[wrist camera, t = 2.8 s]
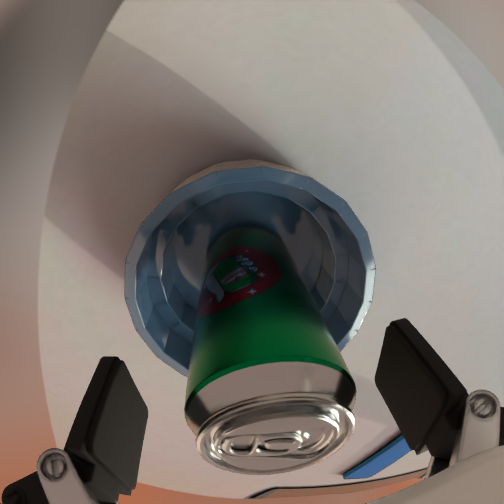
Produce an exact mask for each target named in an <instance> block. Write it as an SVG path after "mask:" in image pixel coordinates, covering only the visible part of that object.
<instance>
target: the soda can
mask: <svg viewBox="0 0 504 504" xmlns="http://www.w3.org/2000/svg"><path fill="white" fill-rule="evenodd" d="M355 400H356V386H355V383H354V380H353V378H352V376H351V374H350V372H349V370H348V368H347V366H346V364H345V362H344V359H343V357H342V355H341V353H340V351H339V349H338V347H337V345H336V343H335V341H334V339H333V337H332V335H331V333H330V331H329V329H328V327H327V325H326V323H325V321H324V319H323V317H322V315H321V313H320V311H319V309H318V307H317V305H316V303H315V301H314V299H313V297H312V295H311V293H310V291H309V289H308V287H307V285H306V283H305V282H304V280H303V278H302V276H301V274H300V272H299V270H298V268H297V266H296V264H295V262H294V260H293V259H292V257H291V255H290V253H289V251H288V249H287V247H286V245H285V244H284V243H283V241H282V240H281V239H280V238H279V237H278V236H277V235H276V234H274V233H272V232H271V231H269V230H266V229H264V228H261V227H256V226H242V227H237V228H234V229H231V230H228V231H227V232H225V233H223V234H222V235H220V236H219V237H218V238H217V239H216V240H215V241H214V242H213V243H212V245H211V246H210V248H209V249H208V252H207V254H206V258H205V262H204V268H203V274H202V280H201V286H200V293H199V299H198V306H197V313H196V320H195V327H194V334H193V341H192V349H191V356H190V364H189V372H188V381H187V389H186V399H185V408H184V412H185V419H186V422H187V424H188V426H189V427H190V429H191V430H192V432H193V433H194V434H195V436H196V447H197V449H198V452H199V454H200V455H201V456H202V458H203V459H205V460H206V461H207V462H208V463H210V464H212V465H214V466H215V467H218V468H220V469H223V470H226V471H230V472H234V473H240V474H248V475H270V474H279V473H285V472H290V471H294V470H298V469H302V468H305V467H307V466H310V465H313V464H315V463H317V462H320V461H322V460H323V459H325V458H327V457H329V456H331V455H332V454H334V453H335V452H336V451H338V450H339V449H340V448H341V447H343V446H344V445H345V443H346V442H347V441H348V440H349V439H350V437H351V436H352V434H353V432H354V429H355V417H354V414H353V412H352V410H353V407H354V403H355Z"/></svg>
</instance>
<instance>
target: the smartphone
mask: <svg viewBox="0 0 504 504" xmlns="http://www.w3.org/2000/svg"><path fill="white" fill-rule="evenodd" d="M410 451H411V449H410V448H409V446H408V444H407V442H406V440H405V438H404V436H403V435H401V436H400V437H399V438H397V439H396V440H395V441H393V442H392V443H391V444H389V445H388V446H386V447H385V448H384V449H382V450H381V451H379V452H378V453H376V454H375V455H373V456H372V457H370V458H369V459H367V460H366V461H364V462H363V463H361V464H360V465H358V466H356V467H355V468H353V469H352V470H350V471H348V472H347V473H345V474H343V478H344V479H361V478H369V477H371V476H373V475H375V474H376V473H378V472H380V471H381V470H383V469H385V468H386V467H388V466H389V465H391V464H392V463H394V462H395V461H397V460H398V459H400V458H401V457H403V456H404V455H405V454H407V453H408V452H410Z"/></svg>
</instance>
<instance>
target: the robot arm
mask: <svg viewBox="0 0 504 504" xmlns="http://www.w3.org/2000/svg"><path fill="white" fill-rule="evenodd" d="M375 384H376V386H377V388H378V390H379V392H380V393H381V395H382V397H383V399H384V401H385V403H386V404H387V406H388V408H389V410H390V412H391V414H392V416H393V417H394V419H395V421H396V423H397V425H398V427H399V429H400V431H401V433H402V435H403V436H404V438H405V440H406V442H407V444H408V446H409V448H410V449H411V450H415V452H416V454H417V455H418V454H421V453H423V452H425V451H427V450H429V452H430V454H431V459H430V462H429V465H428V469H427V472H426V475H425V478H424V480H423V481H421V482H418V483H416V484H414V485H412V486H409V487H407V488H405V489H402V490H400V491H398V492H395V493H393V494H390V495H388V496H385V497H382V498H380V499H377V500H374V501H371V502H368V503H366V504H504V407H500V402H499V400H498V398H497V397H496V396H495V395H494V394H493V393H492V392H490V391H487V390H476V391H474V392H472V393H471V394H470V395H468V393H467V390H466V389H465V387H464V386H463V385H462V384H461V382H460V381H459V380H458V379H457V377H456V376H455V375H454V374H453V372H452V371H451V370H450V369H449V367H448V366H447V365H446V364H445V362H444V361H443V360H442V359H441V358H440V356H439V355H438V354H437V353H436V352H435V350H434V349H433V348H432V347H431V346H430V344H429V343H428V342H427V341H426V340H425V339H424V337H423V336H422V335H421V334H420V333H419V332H418V331H417V329H416V328H415V327H414V326H413V325H412V324H411V323H410V321H409V320H408V319H406V318H403V319H399V320H395V321H392V322H391V323H390V325H389V326H388V327H387V328H386V331H385V336H384V341H383V345H382V350H381V354H380V358H379V363H378V367H377V371H376V374H375ZM147 419H148V409H147V406H146V404H145V402H144V401H143V399H142V397H141V395H140V393H139V391H138V389H137V387H136V385H135V383H134V381H133V379H132V377H131V375H130V373H129V371H128V369H127V367H126V365H125V363H124V361H122V360H120V359H119V358H118V357H102V358H101V359H100V361H99V364H98V366H97V368H96V370H95V373H94V375H93V377H92V379H91V382H90V384H89V386H88V389H87V391H86V394H85V395H84V398H83V400H82V402H81V405H80V407H79V410H78V412H77V415H76V418H75V420H74V423H73V425H72V428H71V431H70V433H69V436H68V439H67V442H66V445H65V447H64V450H61V449H58V448H51V449H48V450H46V451H45V452H43V453H42V454H41V455H40V456H39V458H38V461H37V466H36V467H37V471H36V472H34V473H32V474H30V475H28V476H26V477H24V478H22V479H20V480H18V481H16V482H14V483H12V484H10V485H8V486H7V487H6V488H5V489H4V491H3V494H2V504H120V503H119V502H118V496H119V494H124V495H131V490H132V489H135V487H136V482H137V476H138V469H139V463H140V457H141V451H142V445H143V440H144V434H145V429H146V424H147ZM0 504H1V503H0Z"/></svg>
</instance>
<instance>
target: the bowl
mask: <svg viewBox="0 0 504 504" xmlns="http://www.w3.org/2000/svg"><path fill="white" fill-rule="evenodd" d="M242 226H256V227H261V228H264V229H266V230H269V231H271V232H272V233H274V234H276V235H277V236H278V237H279V238H280V239H281V240H282V241H283V243H284V244H285V245H286V247H287V249H288V251H289V253H290V255H291V257H292V259H293V260H294V262H295V264H296V266H297V268H298V270H299V272H300V274H301V276H302V278H303V280H304V282H305V283H306V285H307V287H308V289H309V291H310V293H311V295H312V297H313V299H314V301H315V303H316V305H317V307H318V309H319V311H320V313H321V315H322V317H323V319H324V321H325V323H326V325H327V327H328V329H329V331H330V333H331V335H332V337H333V339H334V341H335V343H336V345H337V347H338V349H339V351H340V352H341V351H342V350H343V348H344V347H345V346H346V345H347V344H348V343H349V341H350V340H351V339H352V338H353V337H354V336H355V334H356V333H357V332H358V330H359V329H360V326H361V324H362V322H363V320H364V318H365V316H366V314H367V311H368V309H369V307H370V305H371V302H372V298H373V290H374V281H375V272H376V268H375V267H376V266H375V261H374V257H373V253H372V249H371V244H370V240H369V236H368V234H367V231H366V229H365V228H364V226H363V225H362V224H361V222H360V221H359V219H358V218H357V216H356V215H355V213H354V212H353V211H352V209H351V208H350V206H349V205H348V203H347V202H346V201H345V200H344V199H342V198H341V197H339V196H338V195H336V194H335V193H334V192H332V191H331V190H329V189H328V188H326V187H325V186H323V185H322V184H320V183H319V182H317V181H316V180H314V179H313V178H311V177H309V176H307V175H305V174H303V173H301V172H298V171H296V170H294V169H292V168H290V167H287V166H283V165H279V164H275V163H271V162H266V161H262V160H257V159H247V160H238V161H228V162H220V163H217V164H214V165H212V166H210V167H208V168H206V169H204V170H202V171H200V172H197V173H195V174H193V175H191V176H189V177H187V178H186V179H185V180H184V181H183V182H181V183H180V184H179V185H178V186H177V187H176V188H175V189H174V190H173V191H172V192H171V193H170V194H169V195H168V196H167V197H166V198H165V199H164V200H163V201H162V202H161V203H160V204H159V205H158V206H157V207H156V208H155V209H154V210H153V211H152V212H151V213H150V215H149V216H148V217H147V218H146V219H145V220H144V221H143V222H142V224H141V225H140V227H139V229H138V231H137V234H136V236H135V238H134V241H133V243H132V245H131V248H130V250H129V253H128V255H127V258H126V262H125V292H124V296H125V301H126V304H127V307H128V310H129V312H130V315H131V318H132V321H133V324H134V327H135V329H136V331H137V332H138V334H139V335H140V336H141V338H142V339H143V340H144V342H145V343H146V344H147V345H148V347H149V348H150V349H151V351H152V352H153V353H154V354H155V356H157V357H158V358H159V359H160V360H162V361H163V362H165V363H166V364H167V365H169V366H170V367H172V368H173V369H175V370H176V371H177V372H179V373H180V374H182V375H184V376H186V377H188V372H189V364H190V356H191V349H192V341H193V334H194V327H195V320H196V313H197V306H198V299H199V293H200V286H201V280H202V274H203V268H204V262H205V258H206V254H207V252H208V249H209V248H210V246H211V245H212V243H213V242H214V241H215V240H216V239H217V238H218V237H219V236H220V235H222V234H223V233H225V232H227V231H228V230H231V229H234V228H237V227H242Z"/></svg>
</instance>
